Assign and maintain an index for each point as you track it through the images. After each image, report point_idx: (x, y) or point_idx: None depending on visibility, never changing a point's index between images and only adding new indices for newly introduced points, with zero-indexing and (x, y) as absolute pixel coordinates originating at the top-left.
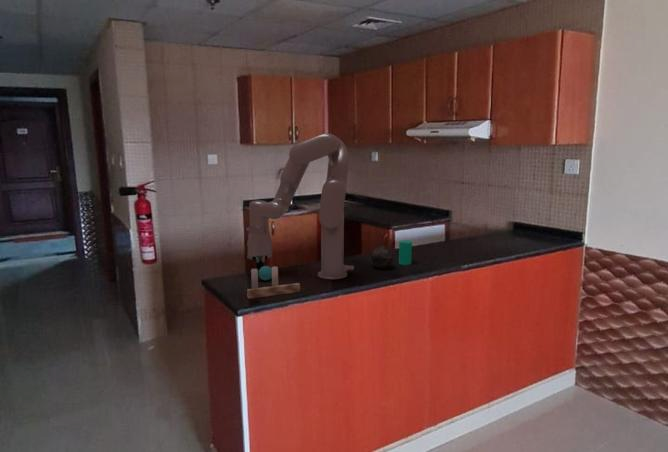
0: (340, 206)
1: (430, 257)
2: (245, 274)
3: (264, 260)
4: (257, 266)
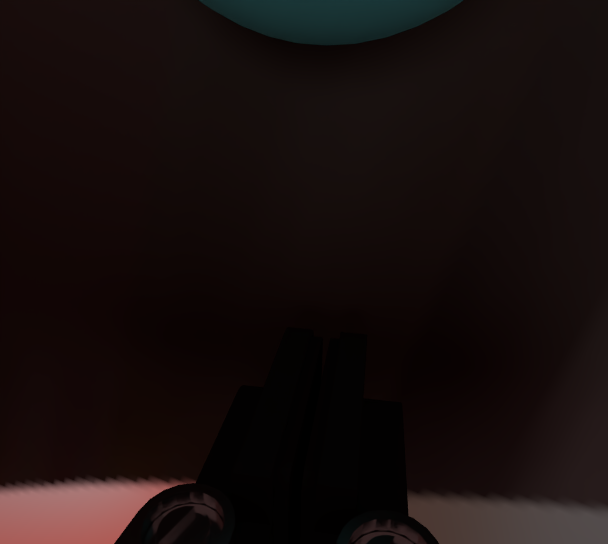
0: None
1: None
2: (563, 464)
3: (128, 538)
4: (391, 447)
